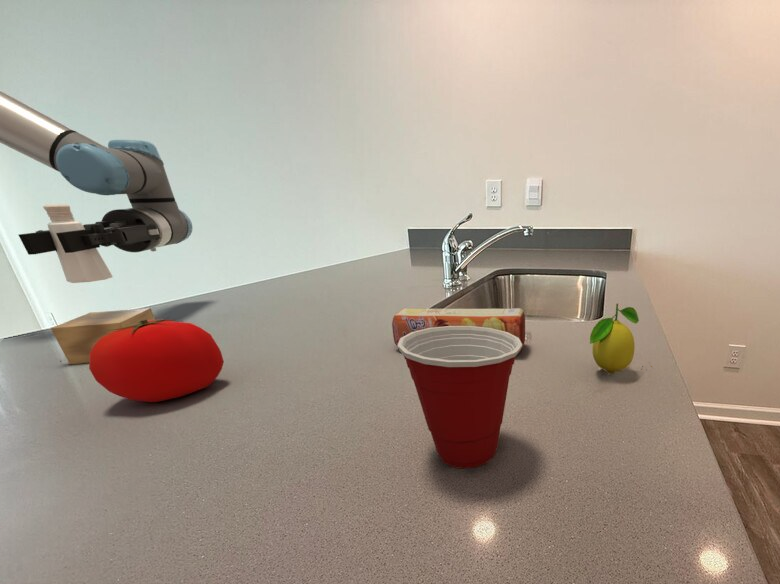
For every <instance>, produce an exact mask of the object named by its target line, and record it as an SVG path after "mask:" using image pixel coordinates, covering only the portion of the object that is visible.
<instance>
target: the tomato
mask: <svg viewBox="0 0 780 584" xmlns="http://www.w3.org/2000/svg"><path fill="white" fill-rule="evenodd" d="M138 323H139V324H137V325H133V326H129V327H124V328H119V329H113V330H116V331H114V332H112V333H110V334H108V335H106V336H104V337H102V338H100V339H99V340H98V341H97V342H96V343H95V345H94V347H93V348H92V350H91V351H90V362H89V363H88V364H89V367H88V369H89V371H90V373H91V374H92V377H93V378H94V380H95V381H96V382H97V383H98V384H99V385H100V386H101V387H103V388H104V389H105V390H106V391H108V392H109V393H110V394H114V395H116V396H118V397H121V398H124V399H127V400H130V401H134V402H145V403H146V402H147V403H156V402H157V403H158V402H163V401H168V400H173V399H178V398H182V397H184V396H187V395H189V394H192V393H195V392H197V391H200V390H203V389H205V388H207V387H209V386H210V385H211V384H212V383H213V382H214V381H215V380H216V379H217V378H218V377H219V375H220V373H221V372H222V370H223V366H224V363H225V362H224V358H223V355H222V354H223V353H222V351H221V348H220V347H219V346H218V344H217V342H216V341H215V339H214V338H213V336H212V334H211V333H210V332H208V331H206V330H205V329H203V328H202V327H200V326H198V325H196V324H194V323H192V322H184V321H183V322H182V321H176V319H174V320H171V319H169V317H167V319H166V318H164V319H163V318H162V319H160V318H159V319H155V320H151V321H147V320H141V321H140V322H138ZM108 331H111V330H108Z"/></svg>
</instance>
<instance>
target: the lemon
mask: <svg viewBox="0 0 780 584" xmlns="http://www.w3.org/2000/svg"><path fill="white" fill-rule="evenodd" d="M619 312H620V313H621V315H622V316H623V317H625V318H626V319H627V320H628V321H630V322H631V323H633V324H638V323H639V322H640V319H639V316H638V312H637V311H636V309H635V308H634V307H631V306H626V307H624V308H622V309H619V303H616V305H615V313H614V315H613V316H612V317H605V318H602V319H600V320H599V321H598V322H597V323H596V324H595V325H594V326H593V328H592V331H591V333H590V336H589V344H590V345H591V344H592V356H593V360H594V362H595V364H596V365H597V366H598V367H599V368H600V369H601V370H604V371H606V372H607V373H608V375H612V374H614V373H616V372H621V371H623V370H625V369H627V368H628V367H629V366H630V365H631V363H632V361H633V359H634V356H635V348H636V347H635V339H634V335H633V333H632V331H631V329H630V328H629V327H628V326H627V325H626V324H624V323H623V322H620V321H619V320H618V315H619ZM614 318H615V319H614Z"/></svg>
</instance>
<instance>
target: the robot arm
mask: <svg viewBox="0 0 780 584" xmlns="http://www.w3.org/2000/svg"><path fill="white" fill-rule="evenodd" d="M0 144H2V145H4V146H6V147H8V148H10V149H12V150H14V151H16V152H18V153H20V154H22V155H25V156H26V157H28V158H30V159H33V160H34V161H36V162H38V163H41V164H43V166H47V167H49V168H50V169H53V170H55V171H57V172H59V174H60V175H61V176H62V177H63V178H64V179H65V180H66V181H67V182H68V183H69V184H70V185H71V186H73V187H74V188H76V189H78V190H80V191H83V192H86V193H89V194H94V195H99V196H116V195H126V196H127V199H128V202H129V203H130V205H131V207H128V208H119V209H112V210H109V211H108V212H106V213H105V214H104V215H103V217H102V218H101V220H100V221H96V222H95V223H87V224H85V223H84V224H82V225H83V227H84V228H85V230H77V231H69V232H61V233H56V234H57V236H58V239H59V241H60V243H61V245H62V247H63V249H64V251H65V253H72V252H78V251H83V250H88V249H93V248H96V249H99V248H101V247H105V248H108V247H112V246H114V247H115V248H117V249H119V250H121V251H124V252H127V253H141V252H145V251H149V250H150V251H151V252H157V248H161V247H165V246H170V245H171V246H172V245H176V244H180V243H182V242H185V240H188V239H189V238H190V237H191V235H192V233H193V223H192V220H191V219H190V217H189V216H188V215H187V213H185V212H184V211H183V210H181V209H180V208H179V206H178V203H177V201H176V198H175V195H174V193H173V190H172V187H171V183H170V180H169V178H168V175H167V172H166V168H165V166H164V165H165V164H164V161H163V160H162V158H161V155H160V153H159V151H158V148H157V147H156V145H155V144H154V143H152V142H151V141H148V140H140V139H111V140H109V141H108V143H107V146H105V145H102V144H101V143H99V142H97V141H95V140H93V139H92V138H89V137H88V136H86V135H84V134H82V133H80V132H78V131H77V130H75V129H73V128H71V127H69V126H67V125H65V124H63V122H60V121H58V120H56V119H54V118H53V117H51V116H49V115H47V114H45V113H44V112H41V111H40V110H38V109H36V108H34V107H33V106H30V105H29V104H27V103H25V102H23V101H21V100H20V99H17V98H15V97H14V96H12V95H10V94H8V93H6V92H4V91H3V90H1V89H0ZM18 237H19V239H20V242H21V243H22V245H23V248H24V249H25V251H26V252H27V255H29V256H31V255H39V254H45V253H50V252H51V253H52V252H56V253H57V249H56V246H55V244H54V241H53V239H52V236H51V234H50V231H49V229H46V230H42V229H40V230H36V231H35V232H29V233H28V232H27V233H20V234H18Z"/></svg>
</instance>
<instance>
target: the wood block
mask: <svg viewBox="0 0 780 584" xmlns="http://www.w3.org/2000/svg"><path fill="white" fill-rule="evenodd" d="M141 320H147V321H151V320H156V319H155V316H154V313H153V310H152V309H151V308H150V307H147V308H134V309H119V310H107V311H94V312H88V313H85V314H84V315H80V316H77V317H75V318H73V319H70V320H68V321H65V322H62V323H60V324H57V325H55V326H52V327H50V330H51V332H52V334H53V335H54V337H55V340H56V341H57V344H58V345H59V347H60V349H61V351H62V352H63V354H64V356H65V359H66V360H67V362H68V363H69V365H79V364H89V362H90V351H91V350H92V348H93V347H94V345H95V343H96V342H97V341H98V340H99V339H100V338H102V337H104V336H106V335H108V334H110V333H112V332H114V331H116V330H113V329H119V328H124V327H129V326H133V325H137V324H139V323H138V322H140V321H141ZM108 330H111V331H108Z"/></svg>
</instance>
